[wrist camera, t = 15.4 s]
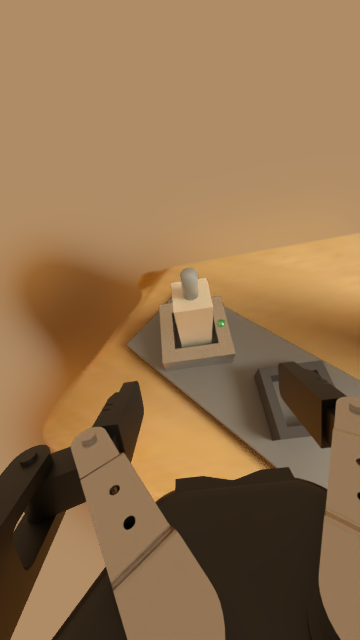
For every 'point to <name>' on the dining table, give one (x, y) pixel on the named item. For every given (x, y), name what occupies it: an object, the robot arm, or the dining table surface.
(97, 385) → the dining table surface
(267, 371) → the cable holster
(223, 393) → the port board
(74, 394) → the dining table surface
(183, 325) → the plug
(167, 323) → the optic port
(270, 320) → the dining table surface
